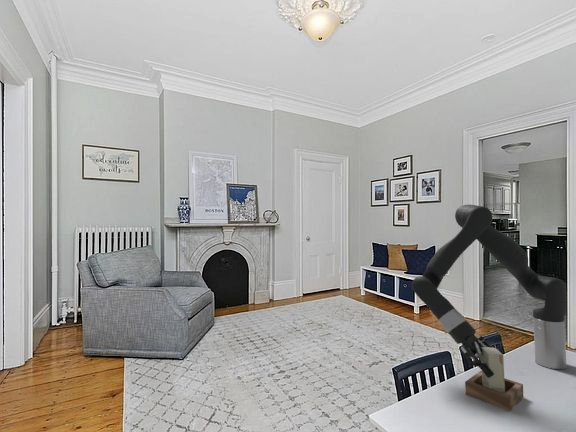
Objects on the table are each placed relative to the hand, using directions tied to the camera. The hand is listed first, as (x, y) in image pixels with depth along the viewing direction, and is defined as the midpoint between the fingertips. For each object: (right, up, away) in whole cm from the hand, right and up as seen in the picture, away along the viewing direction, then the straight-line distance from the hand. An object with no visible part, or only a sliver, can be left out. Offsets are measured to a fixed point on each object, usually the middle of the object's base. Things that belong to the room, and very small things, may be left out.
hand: (496, 372), depth 98 cm
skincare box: (-1, -6, +1) cm, 6 cm away
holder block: (0, -8, 0) cm, 8 cm away
